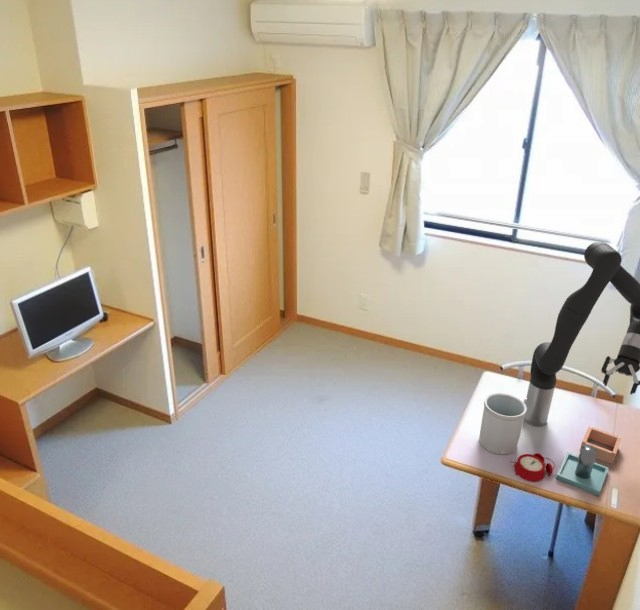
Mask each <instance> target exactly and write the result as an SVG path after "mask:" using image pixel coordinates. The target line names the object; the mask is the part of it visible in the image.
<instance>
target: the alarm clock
mask: <svg viewBox="0 0 640 610" xmlns="http://www.w3.org/2000/svg"><path fill="white" fill-rule="evenodd" d="M546 459H548V460H549V461H551V462H552V463H553V465H552V464H551V463H549V462H546V463H545V457H544V456H543V455H542V454H541V453H539V452H535V453H534V454H531V453H524V454H521V455H520V456H519V457H518V458H517V460H516V461H511V460H510V462H509V463H514V466H513V469H514V470H513V471H514V472H515V473H514V474H515V476H519V477H520V478H521V479H523V480H525V481H528V482H532V483H535V482H541V481H542V480H544V479H545V477H546V473H549V475H547V476H548V477H550V476H552V475H553V473H554V469H555V467H556V464H555V462H554V461H553V460H552V459H551V458H548V457H546Z"/></svg>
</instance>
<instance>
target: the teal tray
mask: <svg viewBox="0 0 640 610" xmlns="http://www.w3.org/2000/svg"><path fill="white" fill-rule="evenodd" d="M578 458H579V455H576V454H574V453H570V452H566V454H565V456H564V458H563V461H562V463H561V466H559V469H558V471H557V474H556V477H555V480H558V481H559V482H562V483H565V484H567V485H569V486H572V487H575V488H577V489H580V490H582V491H585V492H587V493H589V494H592V495H594V496H597V497H599V496H600V494H601V491H602V489H603V485H604V482H605V480H606V477H607V474H608V471H609V469H610V468H609V467H607V466H605V465H603V464H599V463H597V462H594V465H593V468H592V472H591V475H590V477H589V478H588V479H583V478H580V477H578V476H577V475H576V474H575V469H576V466H577V462H578Z"/></svg>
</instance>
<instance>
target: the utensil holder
mask: <svg viewBox="0 0 640 610" xmlns="http://www.w3.org/2000/svg"><path fill="white" fill-rule="evenodd" d="M526 412H527V407H526V404H525V403H524V400H523V399H522V400H521V398H520V397H517V396H514V395H512V394H508V393H504V392H503V393H502V392H494V393H490V394H488V395H487V396H485V398H484V401H483V412H482V417H481V424H480V430H479V443H480V445H481V446H482V447H483V448H484V449H485V450H487V451H488V452H490V453H492V454H496V455H510V454H512V453H514V452H515V451H516V450H517V448H518V444H519V440H520V436H521V432H522V428H523V424H524V422H525V421H524V417H525V414H526Z"/></svg>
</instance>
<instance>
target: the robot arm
mask: <svg viewBox="0 0 640 610" xmlns="http://www.w3.org/2000/svg"><path fill="white" fill-rule="evenodd" d="M583 256H584V261H585V263H586V264H587V265H588V266H589V267H590V268H591V269H592V271H591V274H590V275H589V278H588V279H587V281H586V282H585V283H584V285H583V286H581V287H580V288H579V289H577V290H575V291H574V292H573V293H571V294H570V295H568V297H567V298H566V299H565V301H564V302H563V304H562V307H561V308H560V310H559V312H558V315H557V318H556V323H555V328H554V333H553V337H552V339H551V342H548V341H546V342H543V343H540V344H538V345H537V346H536V347H535V349H534V351H533V355H532V359H531V364H530V365H531V366H530V379H529V384H528V388H527V393H526V396H525V398H524V400H523V402H524V403H525V404H526V407H527V412H526V414H525V417H524V421H523V422H526V423H527V424H528V425H531V426H533V427H542V426H545V425H546V424H547V422H548V418H549V414H550V408H551V405H552V400H553V397H554V394H555V392H554V391H555V389H556V384H557V374H558V373H559V372H560V370H562V369H563V367H564V365H565V363H566V360H567V357H568V356H569V353H570V350H571V348H572V347H573V344H574V342H575V341H576V339H577V337H578V336H579V334H580V332H581V330H582V328H583V327H584V325H585V323H586V322H587V320H588V319H589V317H590V315H591V313H592V311H593V309H594V307H595V305H596V303H597V302H598V300H599V298H600V296H602V293H603V292H604V290H605V289H606V287H608V285H609V283H610V284H612V286H613V287H614V289H615V290H617V292H618V293H619V294H620V295H621V296H622V298H624V300H625V301H627V302H628V303H629V304H630V306H629V307H630V308H629V309H630V310H629V325H628V327H627V330H626V334H625V335H624V337H623V340H622V343H621V345H620V347H619V351H618V354H617V357H615V359H614V358H612V357H611V356H610V355H609V356H606V357H605V360H604V362H603V365H602V367H601V370H600V372H601V373H603V374H604V378H603V381H602V383H603V385H604V387H607V385H608V383H609V381H610V378H611V376H612V375H614V374H615V373H618V374H620V375H624V376H628V377H631V379H632V382H633V384H632V388H631V389H630V393H629V394H630V395H633V394H635V393H637V392H636V391H637V389H638V386H640V380H639V379H638V377H637V373H638V372H639V371H640V282H639V281H638V280H637V279H636V278H635V277H634V276H633V274H631V273H630V272H628V271H627V270H626V269H625V268H624V267H623V266H622V265H621V264H622V260H623V259H622V255H621V253H620V252H619V251H617V250H616V249H615V248H613V247H612V246H611V245H610V244H608V243H607V242H603V241H594V242H593V243H590V244H589V245H588V246H587V247H586V248H585V250H584V253H583ZM612 363H613V364H614V366H613V367H612V368H610V369H608V366H609V365H611V364H612ZM607 369H608V370H607Z"/></svg>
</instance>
